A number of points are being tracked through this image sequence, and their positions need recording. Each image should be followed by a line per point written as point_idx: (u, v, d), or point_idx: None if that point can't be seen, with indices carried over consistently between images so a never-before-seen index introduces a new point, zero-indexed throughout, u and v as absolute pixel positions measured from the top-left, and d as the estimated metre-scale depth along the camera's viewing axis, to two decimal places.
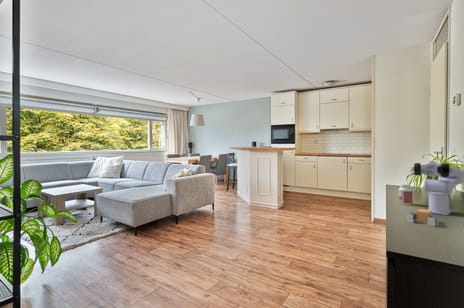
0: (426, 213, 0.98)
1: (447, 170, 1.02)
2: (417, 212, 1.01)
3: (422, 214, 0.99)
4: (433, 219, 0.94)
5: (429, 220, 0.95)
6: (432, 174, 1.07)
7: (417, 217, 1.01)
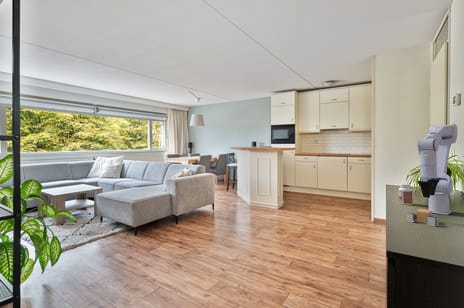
0: (426, 213, 0.98)
1: (425, 183, 1.02)
2: (417, 212, 1.01)
3: (422, 214, 0.99)
4: (433, 219, 0.94)
5: (429, 220, 0.95)
6: None
7: (417, 217, 1.01)
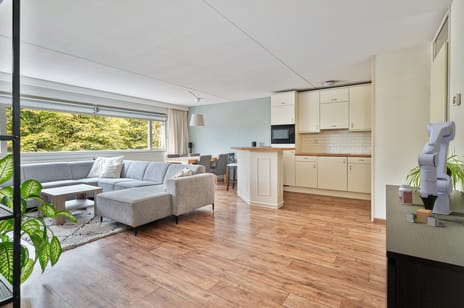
0: (426, 213, 0.98)
1: (427, 197, 1.05)
2: (417, 212, 1.01)
3: (422, 214, 0.99)
4: (433, 219, 0.94)
5: (429, 220, 0.95)
6: None
7: (417, 217, 1.01)
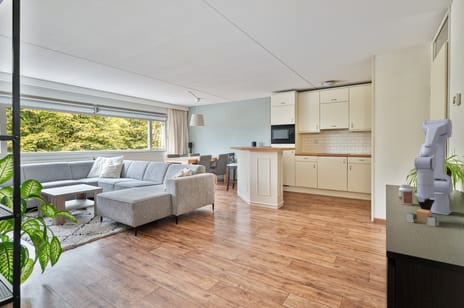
0: (426, 213, 0.98)
1: (425, 201, 1.02)
2: (417, 212, 1.00)
3: (422, 214, 0.99)
4: (433, 219, 0.94)
5: (429, 220, 0.95)
6: None
7: (417, 217, 1.00)
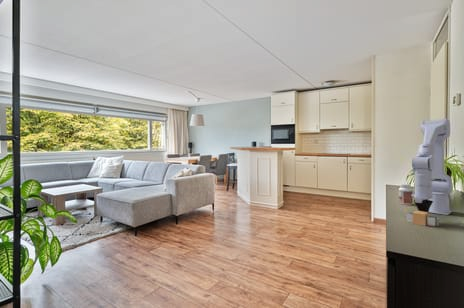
0: (423, 215, 0.95)
1: (422, 203, 0.99)
2: (413, 214, 0.98)
3: (419, 216, 0.96)
4: (433, 219, 0.94)
5: (429, 220, 0.95)
6: None
7: (414, 219, 0.98)
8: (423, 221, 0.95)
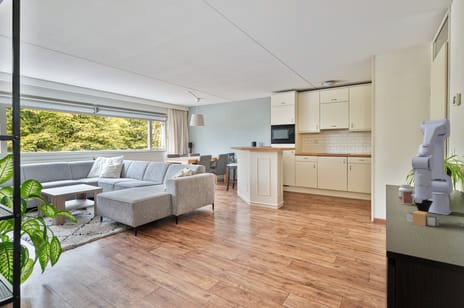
0: (423, 215, 0.95)
1: (422, 203, 0.99)
2: (413, 214, 0.98)
3: (418, 216, 0.96)
4: (433, 219, 0.94)
5: (429, 220, 0.95)
6: None
7: (414, 219, 0.98)
8: (423, 221, 0.95)
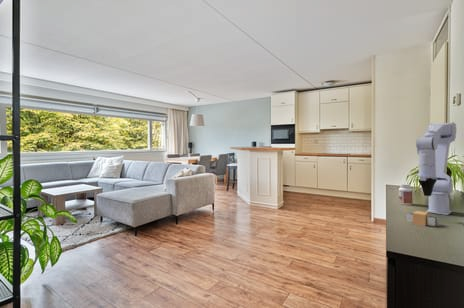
0: (423, 215, 0.95)
1: (426, 181, 1.03)
2: (413, 214, 0.98)
3: (419, 216, 0.96)
4: (433, 219, 0.94)
5: (429, 220, 0.95)
6: None
7: (414, 219, 0.98)
8: (423, 221, 0.95)
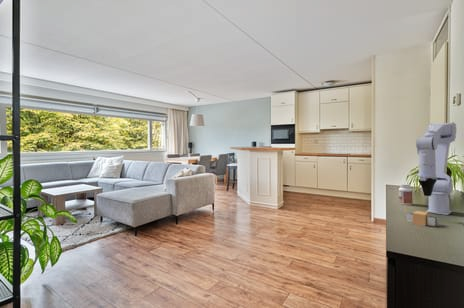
0: (423, 215, 0.95)
1: (426, 181, 1.03)
2: (413, 214, 0.98)
3: (418, 216, 0.96)
4: (433, 219, 0.94)
5: (429, 220, 0.95)
6: None
7: (414, 219, 0.98)
8: (423, 221, 0.95)
